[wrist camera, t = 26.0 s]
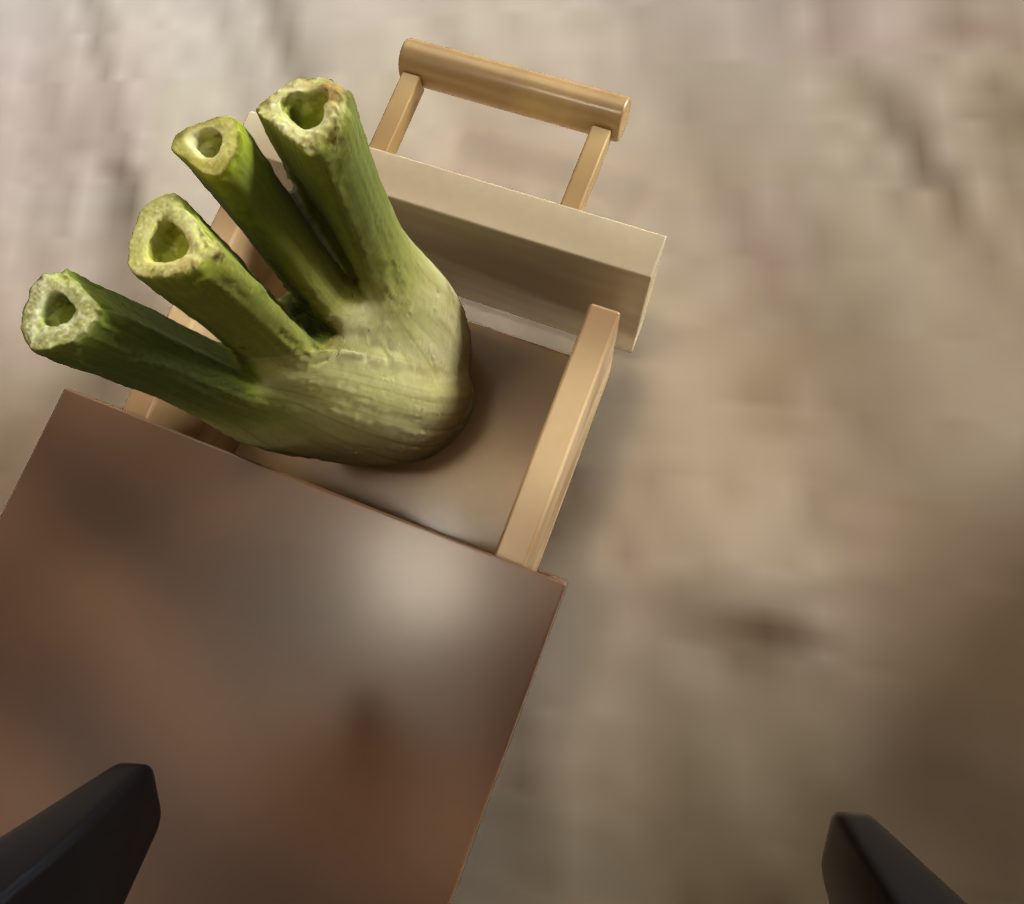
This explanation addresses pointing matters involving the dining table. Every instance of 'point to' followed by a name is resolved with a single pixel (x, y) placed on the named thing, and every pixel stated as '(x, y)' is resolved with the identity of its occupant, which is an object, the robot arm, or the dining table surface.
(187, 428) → the drawer
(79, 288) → the fennel bulb
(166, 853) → the cabinet
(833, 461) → the dining table surface
